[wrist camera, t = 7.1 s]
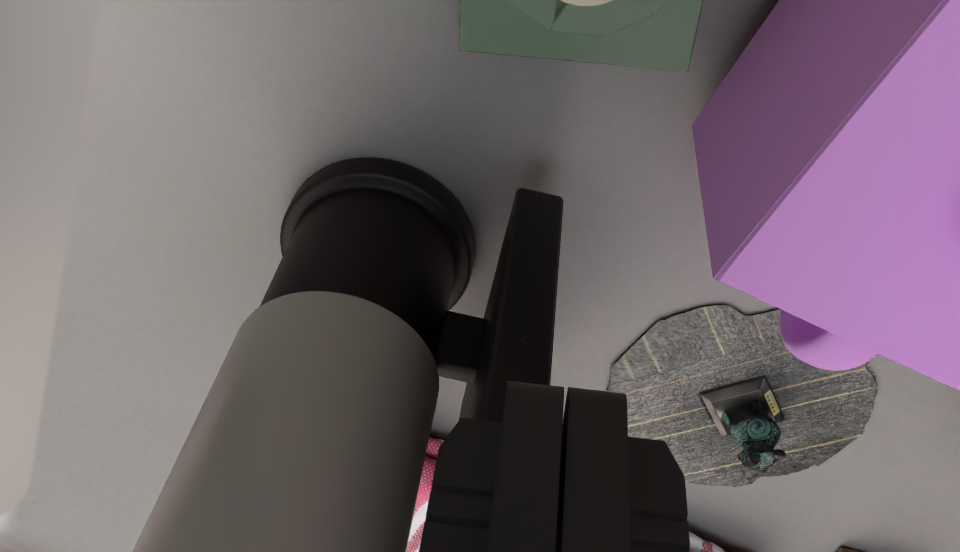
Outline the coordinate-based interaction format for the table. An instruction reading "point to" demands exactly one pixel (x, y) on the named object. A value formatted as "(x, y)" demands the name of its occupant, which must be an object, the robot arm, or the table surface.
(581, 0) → the button
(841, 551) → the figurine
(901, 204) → the teapot
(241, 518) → the light fixture
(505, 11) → the block
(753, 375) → the sculpture
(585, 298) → the table surface
